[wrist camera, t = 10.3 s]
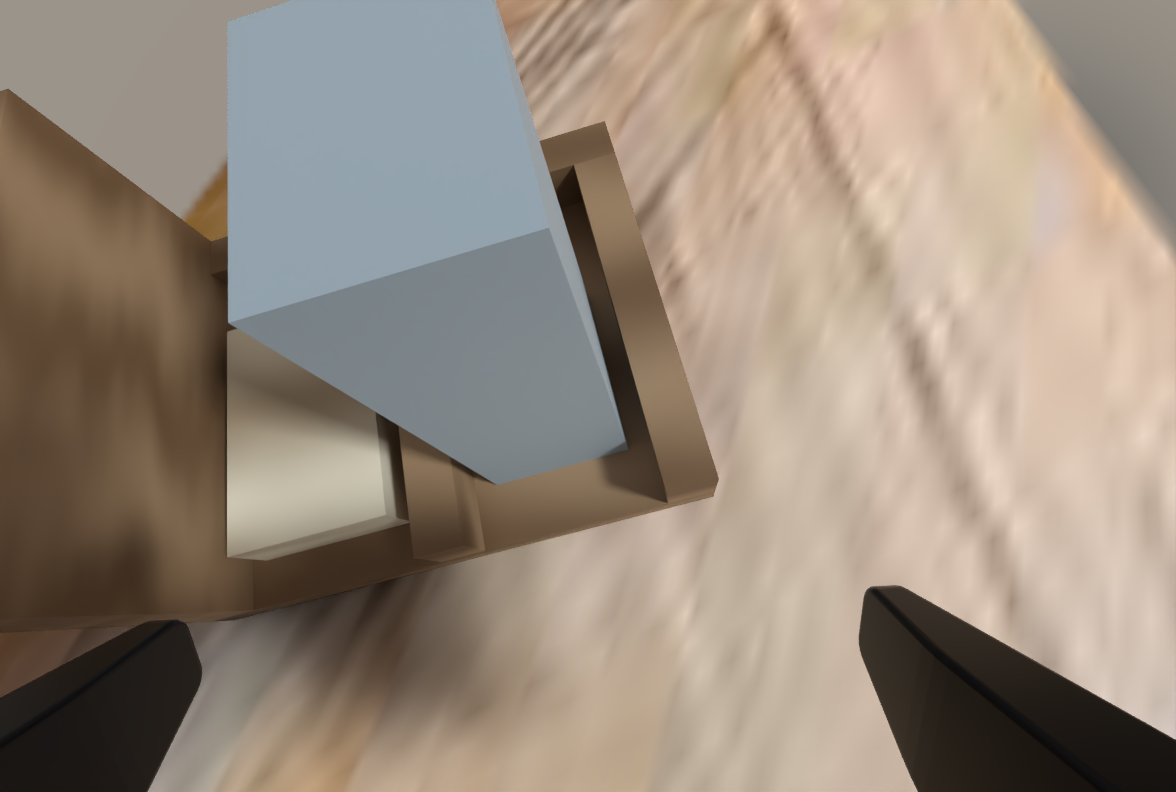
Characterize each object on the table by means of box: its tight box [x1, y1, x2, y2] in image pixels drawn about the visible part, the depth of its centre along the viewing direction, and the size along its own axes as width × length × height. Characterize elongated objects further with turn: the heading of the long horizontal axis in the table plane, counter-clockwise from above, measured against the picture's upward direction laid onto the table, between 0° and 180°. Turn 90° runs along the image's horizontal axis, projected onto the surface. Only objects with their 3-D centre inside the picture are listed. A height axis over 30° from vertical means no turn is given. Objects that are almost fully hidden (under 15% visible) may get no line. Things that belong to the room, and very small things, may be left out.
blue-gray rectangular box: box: [228, 0, 629, 485], centre depth 14 cm, size 6×4×12 cm
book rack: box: [0, 89, 719, 633], centre depth 17 cm, size 14×17×10 cm
